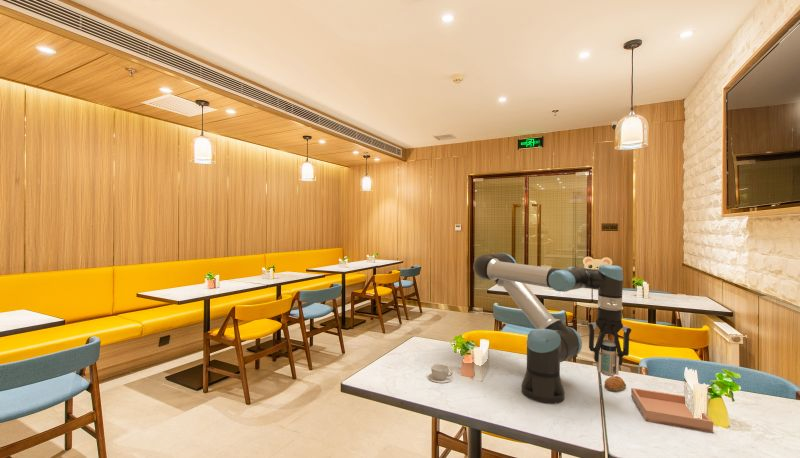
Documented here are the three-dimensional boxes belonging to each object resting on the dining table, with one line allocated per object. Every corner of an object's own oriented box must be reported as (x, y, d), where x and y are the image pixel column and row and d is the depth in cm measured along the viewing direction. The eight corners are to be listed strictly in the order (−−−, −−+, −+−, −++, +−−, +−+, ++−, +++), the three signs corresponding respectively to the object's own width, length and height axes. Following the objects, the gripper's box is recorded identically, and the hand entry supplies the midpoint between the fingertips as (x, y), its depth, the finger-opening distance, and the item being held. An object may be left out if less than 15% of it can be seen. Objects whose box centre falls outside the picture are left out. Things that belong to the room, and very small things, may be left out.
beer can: (613, 372, 127) (614, 340, 127) (616, 377, 122) (617, 344, 122) (598, 370, 128) (599, 338, 128) (601, 375, 124) (602, 342, 124)
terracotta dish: (645, 421, 114) (645, 410, 114) (631, 397, 130) (631, 387, 130) (712, 433, 107) (713, 421, 107) (688, 406, 124) (688, 396, 124)
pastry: (619, 395, 132) (619, 385, 132) (600, 389, 137) (600, 379, 137) (626, 387, 138) (627, 378, 138) (608, 382, 143) (608, 373, 143)
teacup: (424, 381, 141) (425, 369, 141) (432, 371, 150) (432, 361, 150) (448, 385, 137) (449, 373, 137) (454, 376, 146) (454, 365, 146)
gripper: (583, 307, 125) (581, 371, 125) (641, 313, 119) (639, 380, 119) (580, 303, 132) (578, 364, 132) (635, 308, 126) (633, 372, 126)
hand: (607, 372), depth 125 cm, fingers closed on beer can, 5 cm apart
